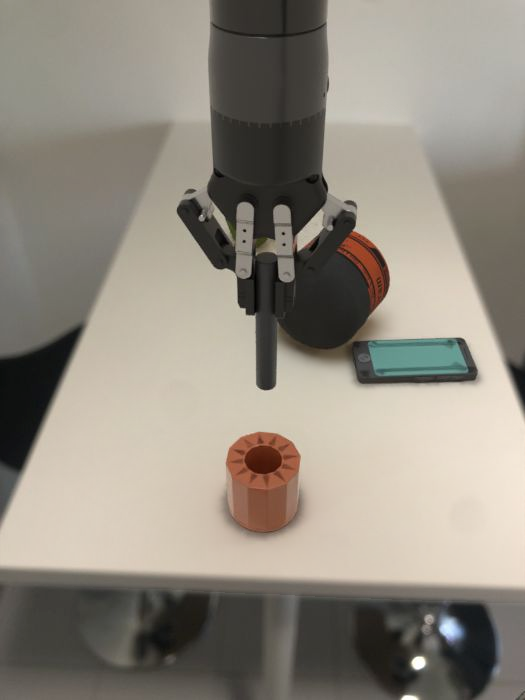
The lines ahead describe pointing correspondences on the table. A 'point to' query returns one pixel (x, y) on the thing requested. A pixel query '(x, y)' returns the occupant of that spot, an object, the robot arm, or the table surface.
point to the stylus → (266, 320)
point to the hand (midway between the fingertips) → (266, 310)
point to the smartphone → (413, 360)
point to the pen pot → (263, 481)
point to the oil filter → (338, 295)
